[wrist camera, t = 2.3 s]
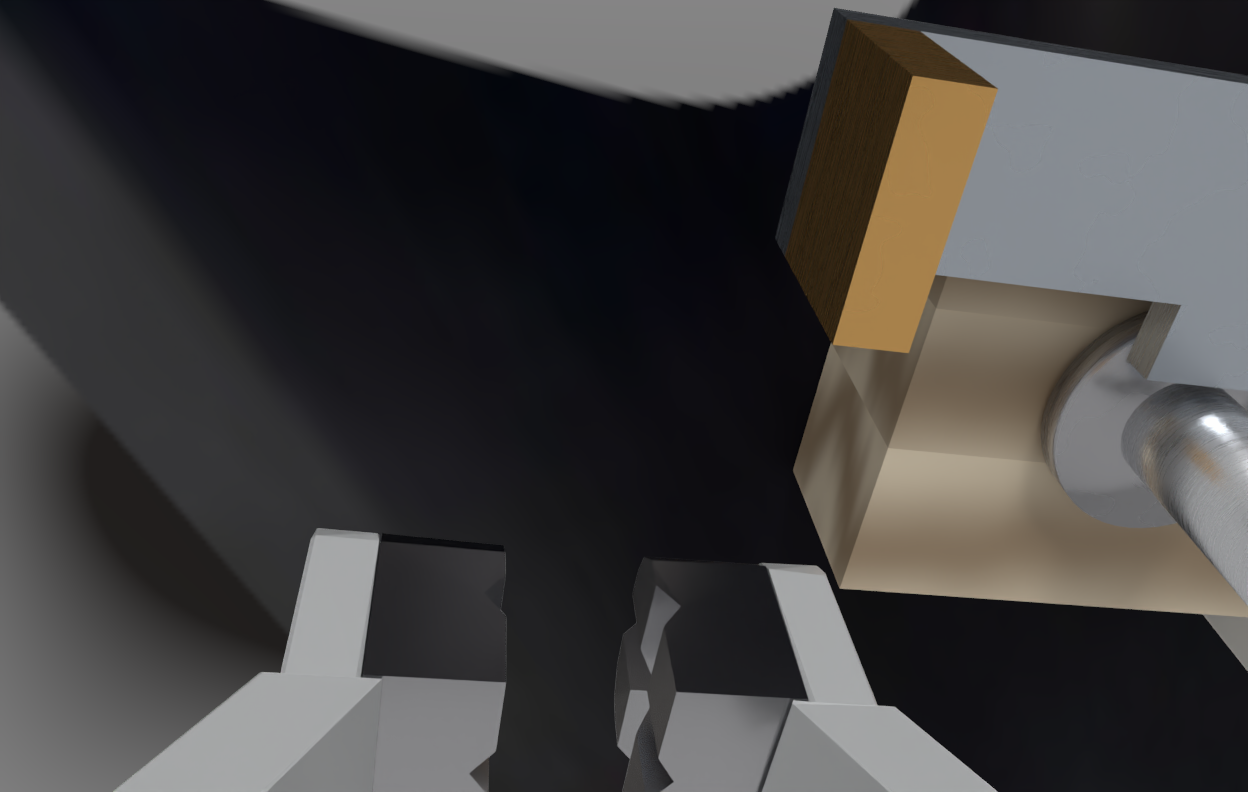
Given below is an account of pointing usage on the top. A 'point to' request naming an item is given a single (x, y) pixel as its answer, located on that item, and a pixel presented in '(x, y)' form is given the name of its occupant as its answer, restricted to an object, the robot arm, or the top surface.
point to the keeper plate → (1022, 187)
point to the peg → (1152, 451)
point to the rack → (1232, 634)
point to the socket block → (980, 464)
